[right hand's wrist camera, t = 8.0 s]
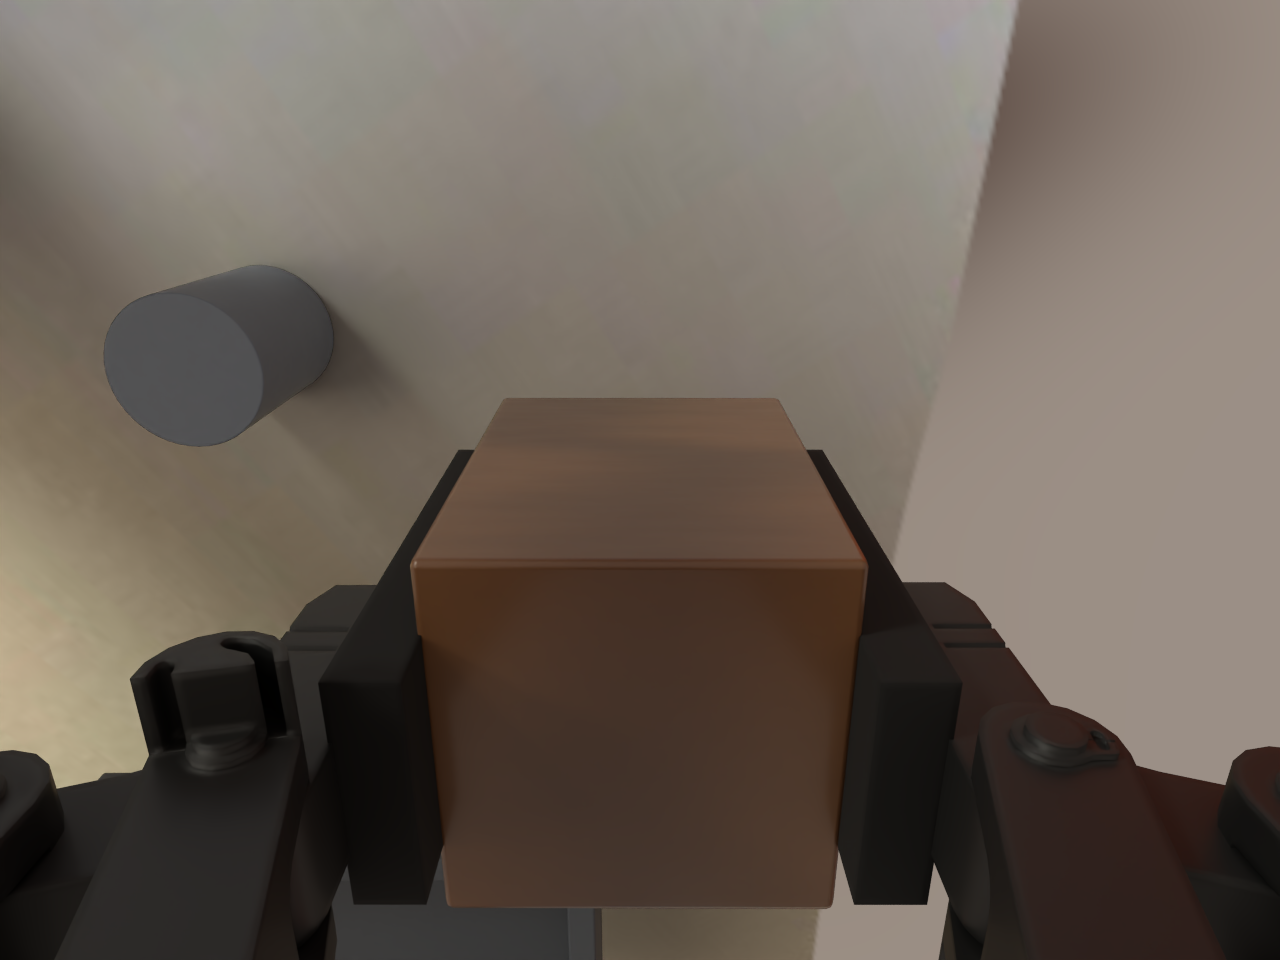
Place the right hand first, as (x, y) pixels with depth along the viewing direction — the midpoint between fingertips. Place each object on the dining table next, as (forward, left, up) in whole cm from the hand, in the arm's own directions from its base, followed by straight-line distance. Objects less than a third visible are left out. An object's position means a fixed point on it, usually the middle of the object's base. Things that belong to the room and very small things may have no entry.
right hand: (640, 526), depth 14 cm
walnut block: (0, 0, 0) cm, 0 cm away
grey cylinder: (-13, 0, -17) cm, 21 cm away
